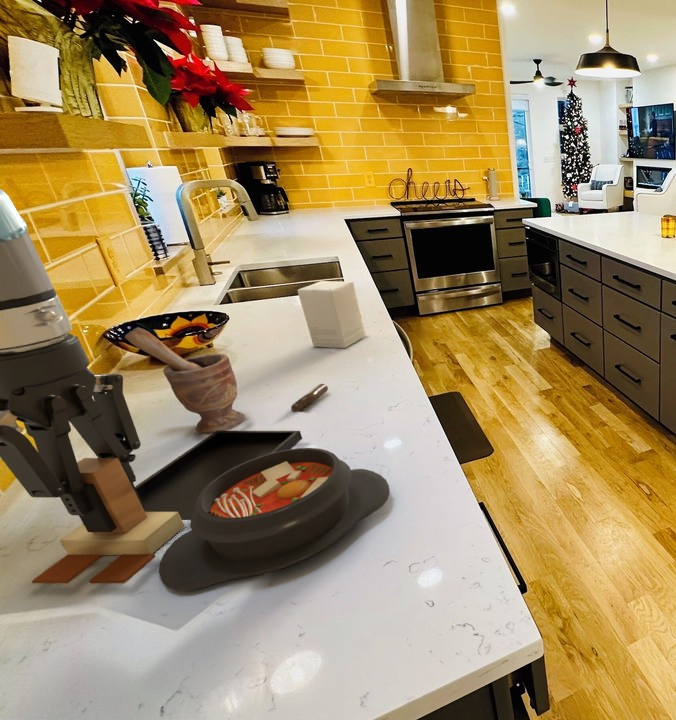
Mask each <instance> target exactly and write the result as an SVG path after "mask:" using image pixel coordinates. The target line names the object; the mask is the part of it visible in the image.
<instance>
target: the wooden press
mask: <svg viewBox="0 0 676 720" xmlns="http://www.w3.org/2000/svg"><path fill="white" fill-rule="evenodd" d="M77 464H78V467H79V470H80V474H81V477H82V480H83V483H84V484H94V486H95V488H96V490H97V492H98V494H99V496H100V497H101V499H102V501H103V503H104V505H105V507H106V509H107V511H108V512H109V514H110V516H111V518H112V520H113V522H114V524H115V525H116V527H117V528H116V529H115V530H113V531H112V532H88V531H87V530H86V528H85V526H84V524H83V523H82V524H81V525H79V526H77V527H76V528H75V529H73V530H72V531H71V532H69V533H68V534H66V535H65V536H63V537H62V538H60V539H59V542H60V544H61V546H62V547H63V549H64V550H65V552H66V555H101V556H120V555H122V554H154V553H155V552H157V550H159V549H160V548H162V546H163V545H165V544H166V543H167V542H168V541H170V539H171V538H173V537H174V536H176V534H178V532H180V531H181V530H182V529H183V528H184V527H185V523H184V522H183V521H184V520H182V519H181V517H180V515H179V513H178V512H145V511H144V509H143V507H142V505H141V503H140V501H139V499H138V497H137V495H136V493H135V491H134V489H133V487H132V485H131V483H130V481H129V479H128V477H127V475H126V473H125V471H124V469H123V467H122V465H121V463H120V461H119V459H118V458H98V457H84V458H82V459H81V460H79V461H77Z"/></svg>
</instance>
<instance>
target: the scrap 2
mask: <svg viewBox="0 0 676 720" xmlns="http://www.w3.org/2000/svg"><path fill="white" fill-rule="evenodd" d="M156 557H157V556H156V554H154V553H153V554H122V555H118V557H116V558H115V559H113V561H112V562H110V563H109V564H108V565H106V566H105V567H104V568H103V569H101V570H100V571H99V572H98V573H96V574H95V575H94V576H93V577H92V578H90V579H89V580H88V582H89V583H90V584H126V583H127V582H129V580H130V579H131V578H133V577H134V576H135V575H136V574H137V573H138V572H140V571H141V570H142V569H143V568H145V566H147V565H148V564H149V563H150V562H151V561H152V560H154V559H155V558H156Z"/></svg>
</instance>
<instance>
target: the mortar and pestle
mask: <svg viewBox="0 0 676 720" xmlns="http://www.w3.org/2000/svg"><path fill="white" fill-rule="evenodd" d="M124 339H125V340H127V341H128V342H129V343H131V344H132V345H133V346H134V347H136V348H138V349H140V350H142V351H143V352H144V353H147V354H149V355H151V356H153V357H155V358H157V359H158V360H160V361H161V362H163V363H165V364H166V366H165V367H164V368H163V371H162V372H163V374H164V376H165V378H166V380H167V382H168V383H169V385H170V388H171V390H172V392H173V395H174V396H175V398H176V399H177V400H178V401H179V403H180V404H181V405H182V406H183V407H184V408H185V410H187V411H188V412H190V413H193V414H197V415H199V417H200V420H199V421H198V422H197V424H196V426H195V431H196V433H197V434H200V435H201V434H202V435H211V434H213V433H214V432H216V431H230V430H231V429H233V428H235V427H238V426H239V425H241V424H242V423H244V421H245V420H246V416H245V414H244V413H242V412H240V411H237V410H236V409H233V405H234V402H235V400H236V399H237V397H238V382H237V378H236V376H235V373H234V370H233V368H232V364H231V361H230V358H229V356H228V355H227V354H224V353H218V352H217V353H204V354H199V355H198V354H197V355H194V356H190V357H185V358H183V357H182V356H180V355H178V354H177V353H176V352H174V351H173V350H172V349H171V348H169V347H168V346H167V345H166V344H164V343H163V342H162V341H161V340H160V339H159V338H157V336H155V335H154V334H152V333H151V332H150V331H148V330H145V329H144V328H141V327H139V326H138V327H135V328H133V329H132V330H130V331H129V332H127V333H126V334H125V335H124Z"/></svg>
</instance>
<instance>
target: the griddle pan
mask: <svg viewBox="0 0 676 720" xmlns="http://www.w3.org/2000/svg"><path fill="white" fill-rule="evenodd" d="M328 390H329V386H328V385H327V384H325V383H319V384H318V385H316V386H315V387H313V389H311V390H310V391H308V392H307V393H306V394H305V395H303V396H302V397H300V398H299V399H298V400H297V401H295V402H293V404H292V405H291V407H290V410H291V412H292V413H302V412H303V411H305V410H306V409H307V408H309V406H311V405H312V404H313V403H315V402H316V401H317V400H319V399H320V398H321V397H322V396H323V395H324V394H326V393H327V392H328ZM302 439H303V435H302V433H301V430H225V431H216V432H214V433H213V434H209V435H208V436H207V437H205V438H204V439H203V440H201V441H199V442H198V443H197V444H195V445H194V446H192V447H191V448H189V449H188V450H187V451H185V452H184V453H182V454H181V455H178V456H177V457H176V458H175V459H173V460H171V461H170V462H169V463H168V464H165V466H163V467H162V468H160V469H159V470H157V471H156V472H154V473H153V474H151V475H150V476H148V477H146V478H145V479H144V480H143V481H141V482H140V483H138V484H136V485H134V486H135V488H136V490H137V492H138V494H139V496H140V498H141V500H142V502H143V504H144V506H145V507H144V508H143V509H144V511H145V512H178V513H179V515H180V517H181V519H182V521H191V517H192V514H193V512H194V510H195V509H196V501H197V499H198V497H199V495H200V493H201V492H202V491H203V490H204V488H205V487H206V486H208V485H209V484H210V483H211V482H212V481H213V480H215V479H216V478H217V477H219V476H220V475H222V474H223V473H225V472H227V471H229V470H230V469H232V468H234V467H236V466H238V465H240V464H242V463H245V462H247V461H249V460H252V459H255V458H257V457H260V456H263V455H267V454H270V453H274V452H278V451H283V450H289V449H293V447H294V446H296V445H297V444H298V443H300V441H302Z"/></svg>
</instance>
